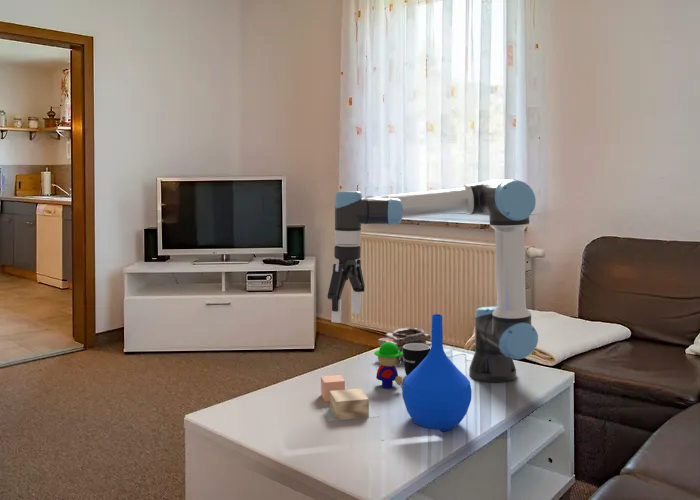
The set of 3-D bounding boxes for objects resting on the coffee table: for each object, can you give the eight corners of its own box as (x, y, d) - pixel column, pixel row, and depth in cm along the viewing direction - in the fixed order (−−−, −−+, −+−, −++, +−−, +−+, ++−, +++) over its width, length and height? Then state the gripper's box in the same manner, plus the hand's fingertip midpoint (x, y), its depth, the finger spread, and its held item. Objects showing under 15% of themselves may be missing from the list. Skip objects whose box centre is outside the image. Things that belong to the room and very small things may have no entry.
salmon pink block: (340, 397, 195) (340, 374, 195) (345, 404, 190) (344, 381, 189) (321, 399, 194) (320, 376, 193) (324, 405, 188) (324, 382, 188)
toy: (402, 396, 196) (401, 347, 194) (371, 394, 197) (371, 346, 196) (406, 384, 206) (406, 338, 204) (377, 383, 208) (376, 337, 206)
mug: (397, 375, 216) (397, 345, 214) (417, 370, 221) (417, 341, 220) (421, 384, 206) (421, 353, 205) (442, 379, 211) (442, 349, 210)
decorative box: (439, 359, 234) (440, 332, 233) (392, 367, 225) (392, 340, 224) (419, 350, 246) (419, 325, 245) (373, 358, 237) (373, 332, 235)
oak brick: (361, 405, 185) (360, 388, 184) (368, 416, 176) (368, 398, 176) (330, 408, 183) (329, 390, 182) (336, 419, 174) (336, 401, 174)
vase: (422, 407, 186) (423, 305, 183) (482, 420, 176) (484, 313, 172) (389, 428, 171) (389, 317, 168) (452, 444, 161) (453, 326, 157)
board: (369, 408, 186) (369, 403, 186) (378, 420, 176) (378, 416, 176) (321, 412, 183) (321, 408, 183) (327, 425, 173) (327, 421, 173)
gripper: (353, 240, 199) (352, 308, 201) (315, 248, 176) (315, 324, 178) (376, 242, 195) (374, 311, 198) (340, 250, 173) (339, 327, 175)
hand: (346, 317), depth 188 cm, fingers open, 13 cm apart
